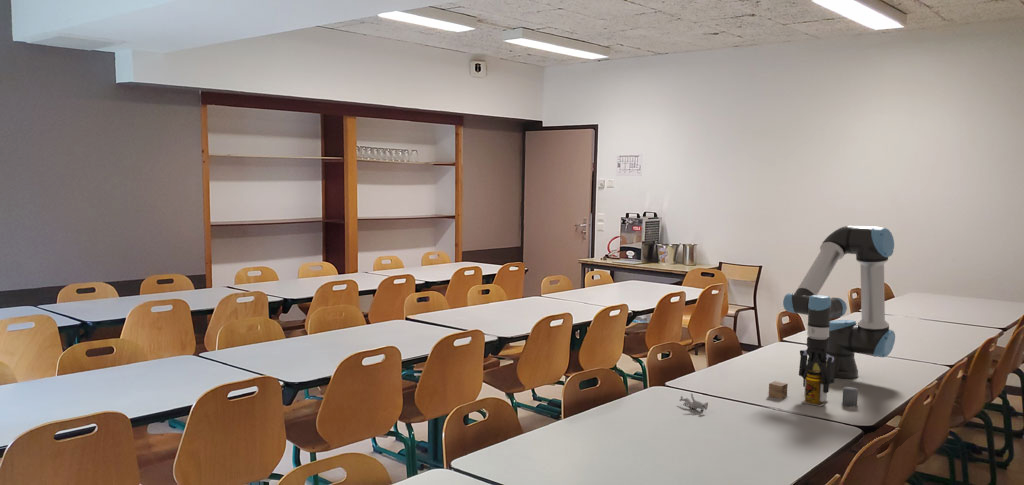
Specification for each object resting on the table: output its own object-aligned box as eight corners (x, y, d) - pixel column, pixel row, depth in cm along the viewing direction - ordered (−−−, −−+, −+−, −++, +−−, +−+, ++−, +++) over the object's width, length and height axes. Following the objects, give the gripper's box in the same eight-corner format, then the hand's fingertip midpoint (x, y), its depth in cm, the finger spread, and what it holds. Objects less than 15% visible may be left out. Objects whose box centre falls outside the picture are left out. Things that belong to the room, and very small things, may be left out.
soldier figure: (691, 405, 269) (716, 403, 260) (687, 416, 267) (712, 415, 257) (678, 392, 267) (703, 390, 258) (673, 403, 265) (698, 401, 255)
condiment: (800, 402, 271) (802, 371, 270) (808, 397, 277) (810, 366, 276) (821, 406, 266) (822, 374, 265) (828, 401, 273) (830, 370, 272)
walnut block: (774, 393, 283) (774, 381, 282) (787, 396, 279) (787, 383, 279) (768, 396, 279) (769, 383, 279) (781, 399, 276) (781, 386, 275)
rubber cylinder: (847, 401, 273) (848, 386, 272) (860, 405, 268) (860, 389, 268) (839, 403, 270) (840, 387, 270) (851, 407, 266) (852, 391, 265)
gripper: (789, 333, 276) (787, 393, 278) (834, 343, 260) (831, 406, 261) (802, 331, 280) (800, 390, 282) (847, 341, 263) (844, 403, 265)
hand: (815, 398), depth 272 cm, fingers closed on condiment, 6 cm apart
